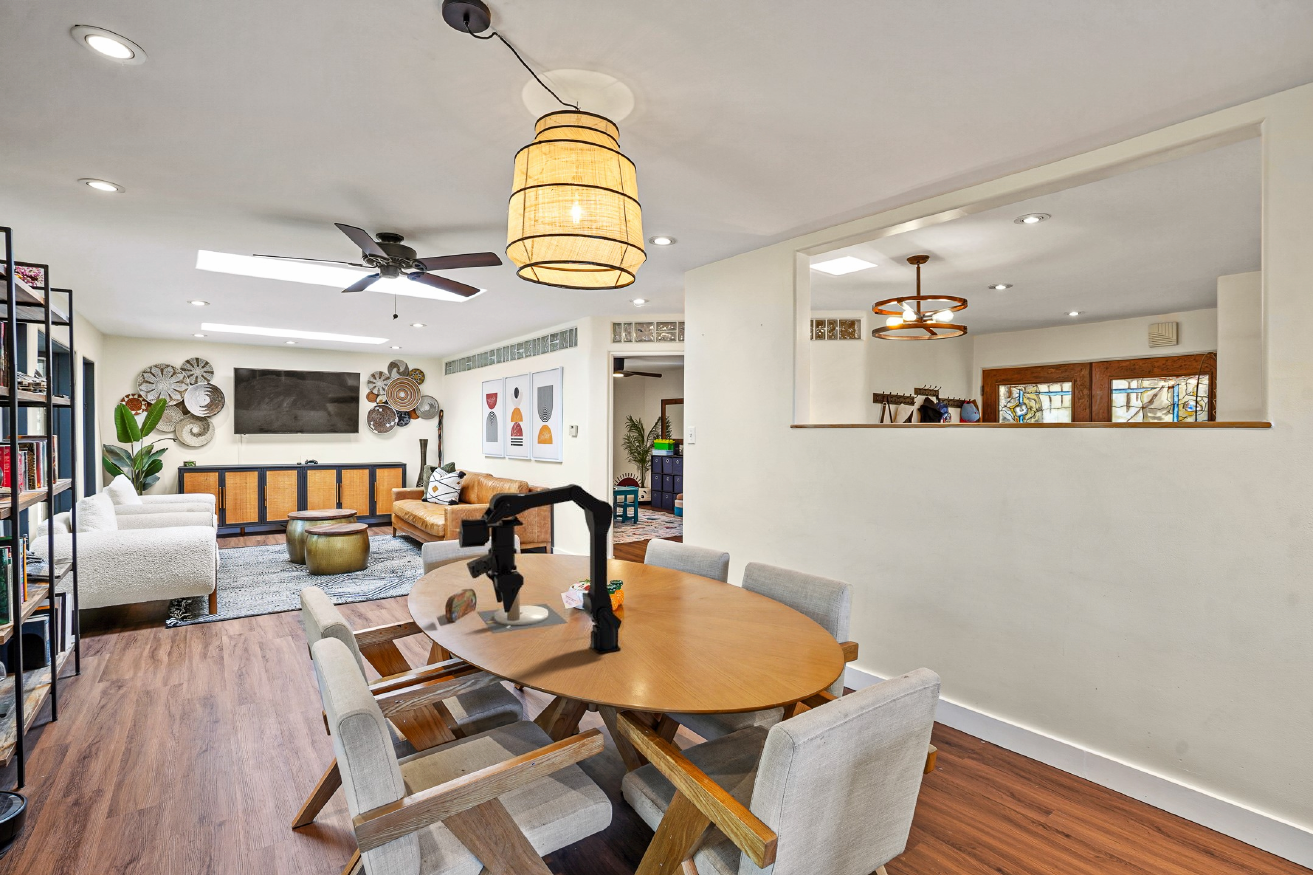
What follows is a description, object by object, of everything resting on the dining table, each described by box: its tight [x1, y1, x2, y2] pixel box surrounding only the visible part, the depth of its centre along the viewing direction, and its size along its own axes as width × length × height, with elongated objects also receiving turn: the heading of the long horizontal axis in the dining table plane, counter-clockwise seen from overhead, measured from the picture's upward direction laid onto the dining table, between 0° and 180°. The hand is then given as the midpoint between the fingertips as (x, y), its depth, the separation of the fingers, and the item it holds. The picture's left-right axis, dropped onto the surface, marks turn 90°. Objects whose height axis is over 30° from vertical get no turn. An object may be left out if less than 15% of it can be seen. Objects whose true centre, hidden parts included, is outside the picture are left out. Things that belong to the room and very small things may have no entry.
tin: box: [444, 588, 478, 623], centre depth 193 cm, size 15×3×8 cm, turn 168°
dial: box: [494, 589, 548, 625], centre depth 192 cm, size 16×16×11 cm
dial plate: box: [476, 603, 569, 634], centre depth 192 cm, size 22×22×1 cm
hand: (503, 607), depth 157 cm, fingers open, 9 cm apart
